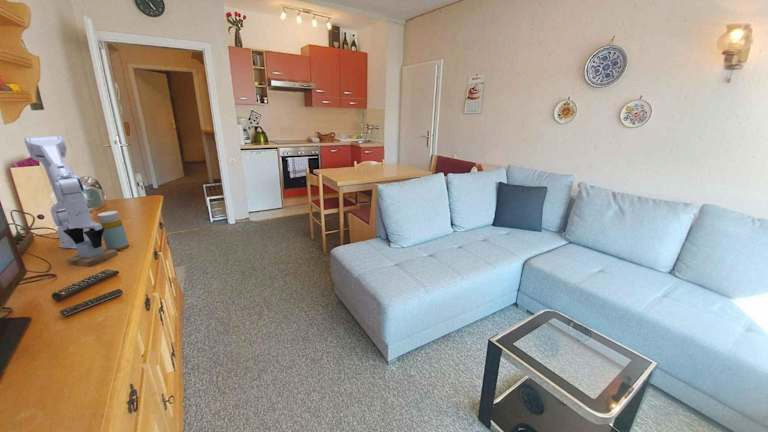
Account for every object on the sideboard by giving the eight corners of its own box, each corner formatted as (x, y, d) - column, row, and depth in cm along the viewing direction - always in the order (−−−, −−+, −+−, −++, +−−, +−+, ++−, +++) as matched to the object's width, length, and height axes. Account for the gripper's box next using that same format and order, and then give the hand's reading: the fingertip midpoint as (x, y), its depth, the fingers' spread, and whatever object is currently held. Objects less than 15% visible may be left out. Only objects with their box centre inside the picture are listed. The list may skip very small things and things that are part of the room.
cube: (79, 256, 115) (75, 244, 114) (93, 251, 120) (89, 239, 118) (90, 258, 114) (86, 245, 113) (104, 252, 119) (100, 240, 117)
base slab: (68, 264, 114) (66, 259, 113) (97, 252, 123) (95, 248, 123) (90, 266, 112) (88, 261, 112) (118, 254, 122) (116, 249, 121)
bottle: (116, 252, 123) (105, 216, 118) (102, 251, 125) (91, 215, 120) (133, 245, 130) (123, 211, 125) (119, 244, 131) (109, 210, 126)
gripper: (48, 214, 109) (61, 249, 114) (82, 216, 107) (94, 252, 111) (71, 208, 116) (82, 241, 120) (103, 210, 113) (113, 244, 118)
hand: (89, 246), depth 116 cm, fingers open, 7 cm apart
